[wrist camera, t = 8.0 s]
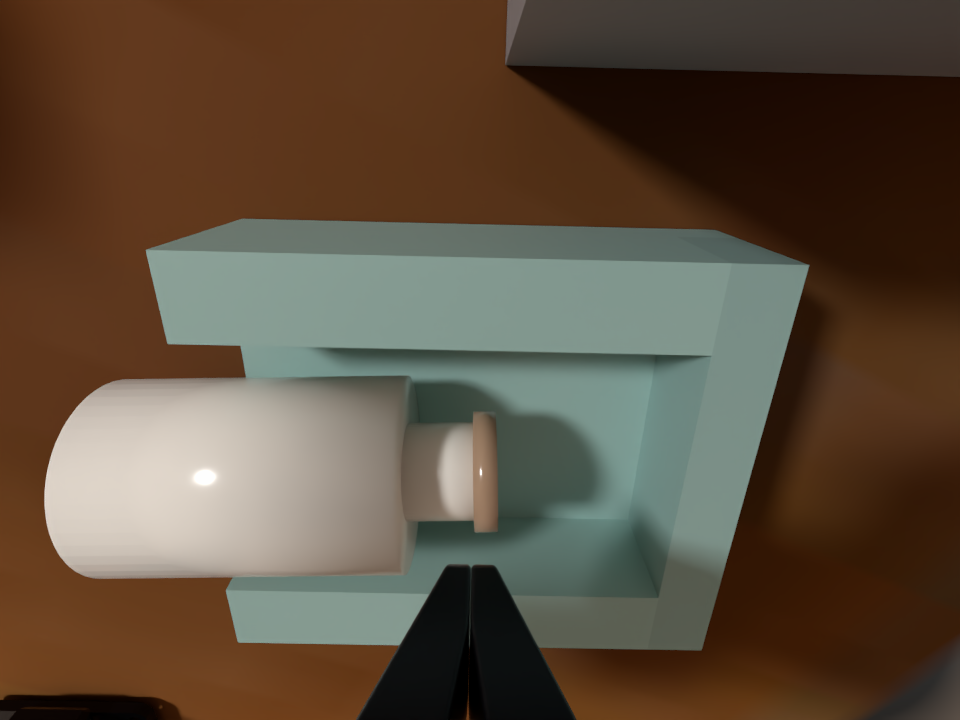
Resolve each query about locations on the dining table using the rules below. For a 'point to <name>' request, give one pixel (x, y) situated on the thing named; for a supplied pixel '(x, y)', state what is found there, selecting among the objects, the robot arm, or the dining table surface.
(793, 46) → the frame
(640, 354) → the teal rectangular tray
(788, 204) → the dining table surface
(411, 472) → the bottle
